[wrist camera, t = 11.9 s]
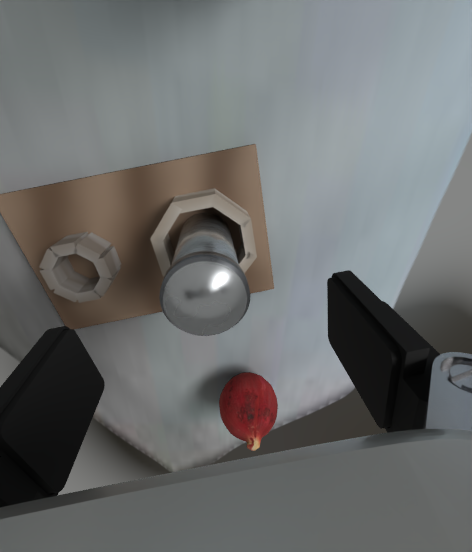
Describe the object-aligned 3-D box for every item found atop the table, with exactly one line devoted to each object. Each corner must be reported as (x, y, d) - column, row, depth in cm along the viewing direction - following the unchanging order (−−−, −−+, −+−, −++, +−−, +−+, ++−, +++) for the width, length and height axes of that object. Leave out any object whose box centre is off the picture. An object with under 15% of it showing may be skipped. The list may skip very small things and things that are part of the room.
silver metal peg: (227, 204, 21) (243, 250, 12) (237, 256, 23) (256, 329, 14) (171, 215, 21) (145, 270, 12) (185, 266, 23) (173, 346, 14)
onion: (217, 357, 29) (221, 428, 22) (270, 354, 29) (290, 421, 22) (218, 396, 32) (222, 470, 24) (267, 392, 32) (285, 463, 25)
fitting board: (253, 144, 20) (262, 144, 17) (271, 283, 26) (281, 303, 22) (0, 194, 20) (-38, 203, 17) (73, 323, 25) (54, 349, 22)
